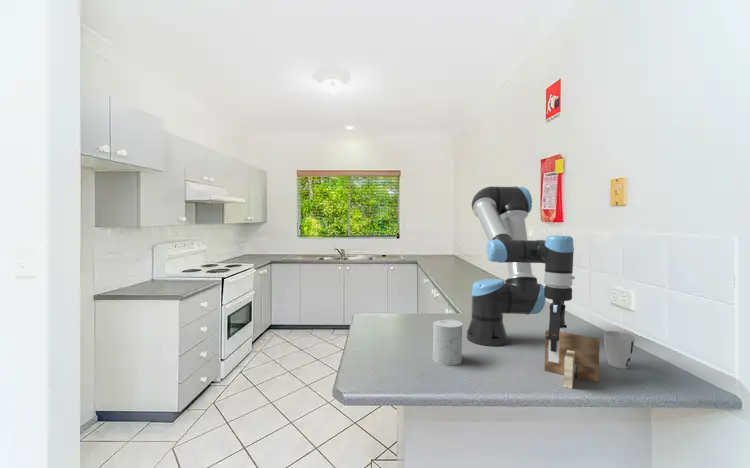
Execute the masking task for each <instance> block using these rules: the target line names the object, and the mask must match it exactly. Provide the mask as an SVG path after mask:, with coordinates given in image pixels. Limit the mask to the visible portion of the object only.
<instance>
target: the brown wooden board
mask: <svg viewBox="0 0 750 468" xmlns="http://www.w3.org/2000/svg"><path fill="white" fill-rule="evenodd" d="M548 333H549V329H546V330H545V335H544V339H545V340H544V371H545V372H549V373H554V374H558V375H562V376H564V358H565V355H566V352H567V350H570V351H575V363H574V364H577V367H576V373H577V376H576V379H579V378H580V380H581V379H582V380H584V379H585V380H584V381H588V382H594V383H598V384H599V376H600V372H599V371H600V345H601V344H600V340H601V338H599V337H593V336H587V335H580V334H575V333H568V332H564V333H563V332H559V340H560V342H559V363H555V362H550V361H548V350H549V339H546V336H548ZM553 336H556V335H553Z"/></svg>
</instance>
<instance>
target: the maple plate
mask: <svg viewBox="0 0 750 468" xmlns="http://www.w3.org/2000/svg"><path fill="white" fill-rule="evenodd" d="M574 363H575V351H570V350H567V352H566V355H565V358H564V375H563V387H564V388H567V387H568V389H571V388H572V389H573V386H574V380H575V376H576V372H577V367H578V365H577V364H574Z"/></svg>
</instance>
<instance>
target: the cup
mask: <svg viewBox="0 0 750 468" xmlns="http://www.w3.org/2000/svg"><path fill="white" fill-rule="evenodd" d="M635 339H636V337H635V336H634V335H632V334H631V333H630V334H629V333H626V332H621V331H615V330H607V331H604V332H603V343H604V344H603V345H604V351H605V357H606V361H607V363H608V365H609V366H611V367H613V368H616V369H623V370H625V369H628V368H629V365H630V364H631V361H632V358H633V352H634V349H635V348H634V346H635Z"/></svg>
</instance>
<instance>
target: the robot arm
mask: <svg viewBox="0 0 750 468" xmlns="http://www.w3.org/2000/svg"><path fill="white" fill-rule="evenodd" d="M532 204H533V198H532V194H531V193H530V191H529V189H527V187H524V186H514V185H513V186H486V187H484V188H482V189H480V190H479V191H477V193H475V194H474V196H473V198H472V201H471V209H472V212H473V215H474V216H475V217H476V218H478V219H479V222H480V225H481V226H482V229H483V231H484V234H485V235H486V238H487V240H488V242H487V244H486V248H485V249H486V257H487V259H488V261H490V262H494V263H499V264H500V263H501V264H502V263H503V264H504V263H507V270H508V276H507V277H506V278H505V282H504V280H503V279H501V278H500V279H498V278H485V279H481V280H476V281H475V282H474V283H473V284H472V290H471V320H470V322H469V325H468V328H467V330H466V340H469V341H470V342H472V343H474V344H477V345H482V346H488V347H489V346H490V347H497V346H498V347H499V346H503V345H506V344H507V343H508V334H507V331H506V327H505V324H504V320H503V318H504V314H509V315H517V314H518V315H527V316H528V315H538V314H540V313H541V311H542V310H543V308H544V307H545V305H546V299H548V300H552V303H550V305H549V324H548V330H549V333H548V336H546V339H549V350H548V361H550V362H555V363H559V342H560V340H559V332H563V333H565V329H568V327H567V326H568V325H567V324H566V322H565V320H566V319H565V318H566V317H565V315H566V306H567V305H566V304H565V302H569V301H571V300H572V299H573V288H572V286H573V280H575V278H576V277H575V276H573V270H574V254H575V253H574V251H575V248H574V239H573V236H569V235H547V236H546V237H545V239H536V240H528V234H527V233H528V232H527V226H526V221H525V220H526V218H527V217H528V216H529V214H530V212H531V211H532V207H533V205H532ZM532 264H544V279H543V281H544V282H543V283H544V284H545V286H544V285H543V284H541V283H538V278H537V277H536V276H534V275H533V272H532V271H533V269H532ZM553 335H556V336H553Z"/></svg>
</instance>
